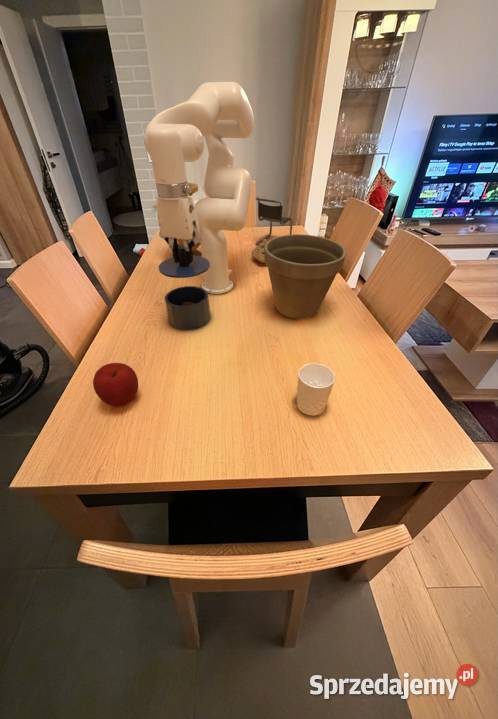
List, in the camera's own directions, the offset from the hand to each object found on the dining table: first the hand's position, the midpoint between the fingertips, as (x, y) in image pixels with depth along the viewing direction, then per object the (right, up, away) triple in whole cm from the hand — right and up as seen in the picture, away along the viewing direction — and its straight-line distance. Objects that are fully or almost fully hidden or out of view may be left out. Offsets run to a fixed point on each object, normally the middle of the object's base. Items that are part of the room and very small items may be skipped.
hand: (183, 261), depth 86 cm
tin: (-1, -14, +15) cm, 21 cm away
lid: (0, -1, +1) cm, 2 cm away
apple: (-12, -38, -12) cm, 42 cm away
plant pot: (+36, -10, +20) cm, 42 cm away
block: (-1, -14, +15) cm, 20 cm away
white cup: (+34, -39, -14) cm, 53 cm away
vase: (-10, +19, +55) cm, 59 cm away
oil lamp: (+26, +17, +52) cm, 61 cm away
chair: (+32, +33, +71) cm, 84 cm away
